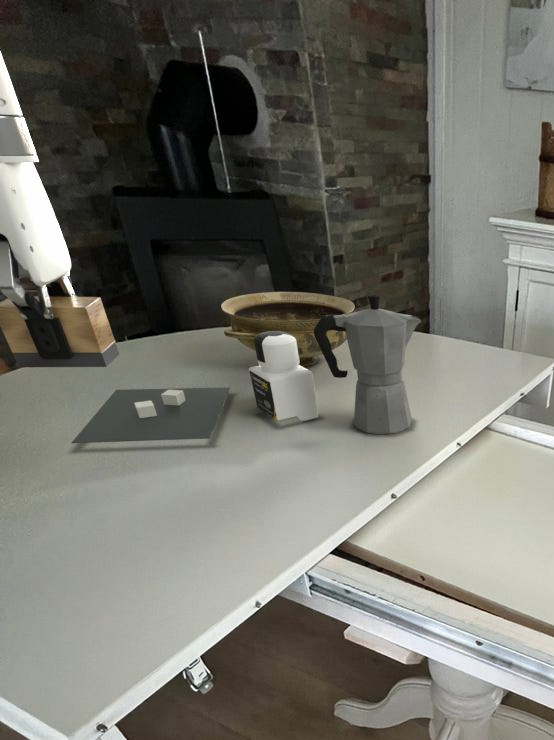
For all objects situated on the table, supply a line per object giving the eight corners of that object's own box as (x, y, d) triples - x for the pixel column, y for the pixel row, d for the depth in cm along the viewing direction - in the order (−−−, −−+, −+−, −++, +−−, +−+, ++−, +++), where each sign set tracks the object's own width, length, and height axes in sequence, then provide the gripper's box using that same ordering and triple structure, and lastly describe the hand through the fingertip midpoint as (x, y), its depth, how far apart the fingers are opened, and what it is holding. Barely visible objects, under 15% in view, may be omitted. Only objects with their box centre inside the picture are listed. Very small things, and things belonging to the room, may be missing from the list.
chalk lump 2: (164, 404, 92) (160, 394, 91) (171, 399, 94) (168, 389, 93) (178, 405, 92) (175, 395, 91) (185, 400, 94) (183, 390, 93)
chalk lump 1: (139, 418, 88) (136, 407, 87) (137, 413, 89) (133, 402, 88) (157, 416, 89) (153, 405, 88) (154, 410, 90) (151, 400, 89)
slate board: (74, 451, 81) (71, 442, 80) (118, 397, 97) (116, 389, 97) (211, 446, 84) (209, 438, 83) (232, 394, 100) (230, 387, 99)
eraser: (18, 367, 65) (-9, 306, 61) (36, 354, 68) (11, 296, 64) (106, 367, 66) (85, 307, 62) (119, 354, 70) (100, 297, 66)
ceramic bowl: (281, 393, 101) (269, 330, 95) (193, 366, 111) (178, 306, 104) (393, 356, 121) (390, 301, 114) (311, 335, 130) (304, 283, 124)
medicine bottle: (257, 414, 94) (240, 331, 86) (298, 405, 98) (285, 325, 90) (277, 428, 90) (261, 343, 82) (319, 418, 94) (307, 336, 86)
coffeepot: (415, 409, 98) (411, 285, 86) (431, 430, 91) (429, 299, 80) (322, 418, 94) (304, 289, 82) (332, 441, 87) (314, 304, 75)
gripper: (-17, 137, 60) (58, 331, 72) (-115, 140, 48) (-3, 375, 60) (62, 141, 61) (124, 331, 73) (-12, 145, 49) (77, 374, 61)
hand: (66, 349), depth 66 cm, fingers closed on eraser, 5 cm apart
